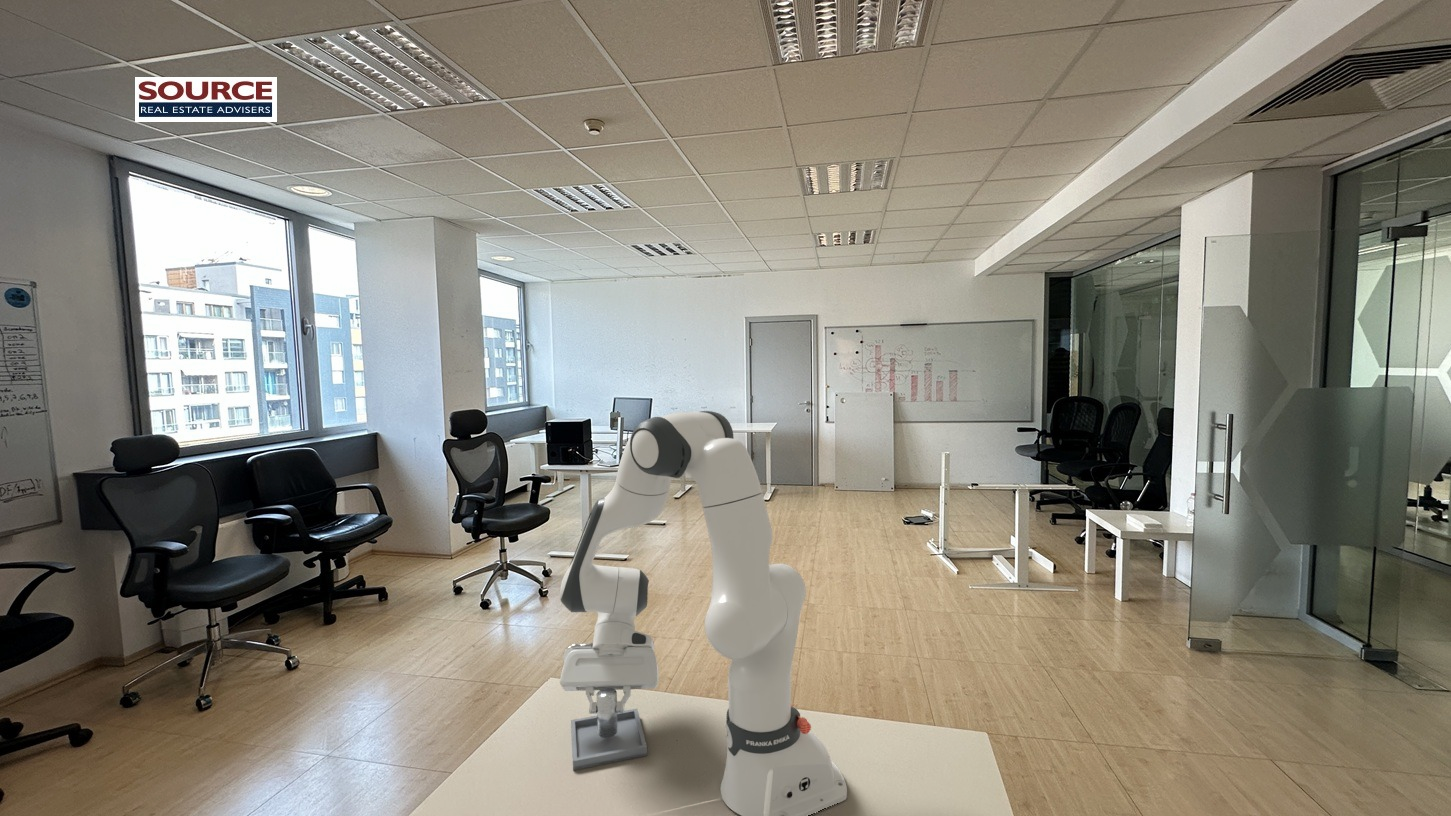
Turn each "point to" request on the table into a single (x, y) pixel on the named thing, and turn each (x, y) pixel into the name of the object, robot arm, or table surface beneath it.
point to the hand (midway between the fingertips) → (606, 712)
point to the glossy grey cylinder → (607, 712)
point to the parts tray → (607, 741)
